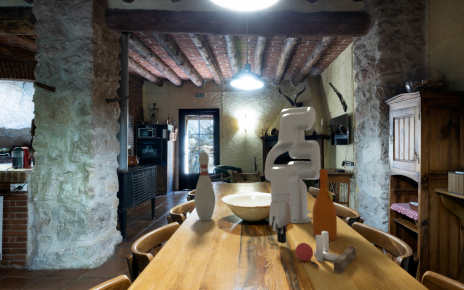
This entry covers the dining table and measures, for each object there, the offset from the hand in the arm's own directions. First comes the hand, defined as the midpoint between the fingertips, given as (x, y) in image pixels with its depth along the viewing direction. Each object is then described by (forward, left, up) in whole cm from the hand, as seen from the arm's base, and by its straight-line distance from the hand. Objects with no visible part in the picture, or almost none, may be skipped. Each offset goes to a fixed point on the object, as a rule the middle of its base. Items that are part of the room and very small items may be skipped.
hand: (281, 242), depth 105 cm
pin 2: (-3, +17, -2) cm, 17 cm away
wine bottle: (-19, +10, -2) cm, 22 cm away
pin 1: (+2, +17, -2) cm, 17 cm away
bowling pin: (-5, -52, -2) cm, 53 cm away
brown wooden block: (0, +25, -2) cm, 25 cm away
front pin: (0, +14, 0) cm, 14 cm away
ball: (+6, +13, +2) cm, 14 cm away
